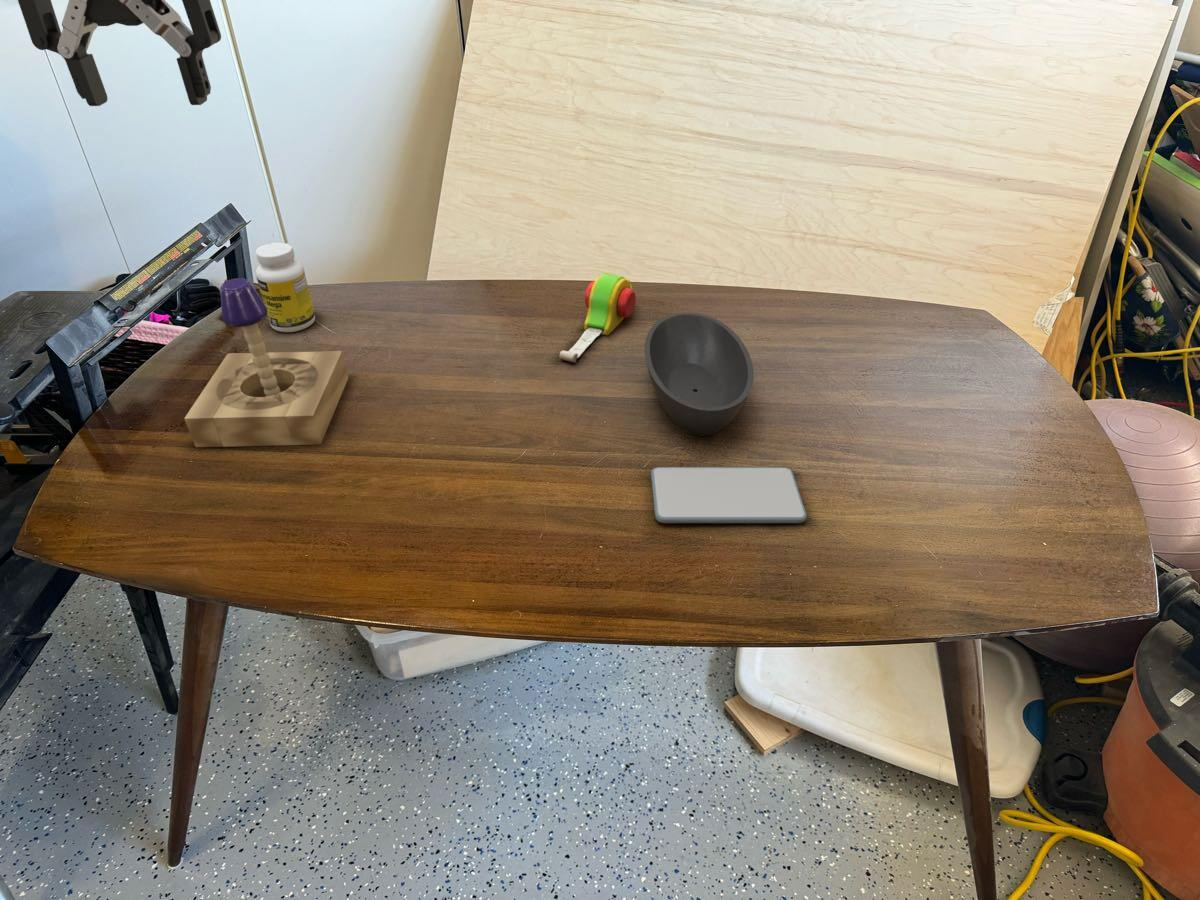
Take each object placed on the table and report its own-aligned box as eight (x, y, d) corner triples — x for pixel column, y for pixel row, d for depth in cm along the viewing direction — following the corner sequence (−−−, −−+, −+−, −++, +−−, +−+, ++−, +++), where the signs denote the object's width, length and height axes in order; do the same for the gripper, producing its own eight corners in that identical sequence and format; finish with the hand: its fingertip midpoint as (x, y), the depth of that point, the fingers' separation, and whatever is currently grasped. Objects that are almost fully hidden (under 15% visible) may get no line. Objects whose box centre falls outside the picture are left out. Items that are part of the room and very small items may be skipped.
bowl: (727, 353, 105) (732, 311, 101) (763, 455, 87) (770, 408, 84) (635, 356, 104) (637, 313, 101) (653, 459, 87) (655, 412, 83)
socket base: (195, 447, 89) (183, 418, 87) (236, 380, 100) (227, 353, 98) (320, 444, 89) (313, 415, 87) (348, 378, 100) (342, 350, 98)
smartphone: (809, 518, 78) (655, 518, 77) (807, 526, 78) (655, 526, 78) (791, 465, 84) (650, 465, 84) (790, 473, 85) (650, 472, 85)
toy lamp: (284, 424, 93) (244, 293, 82) (247, 421, 93) (203, 291, 83) (303, 401, 96) (267, 274, 86) (267, 398, 97) (227, 271, 87)
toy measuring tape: (647, 306, 116) (649, 263, 112) (587, 369, 102) (586, 323, 98) (608, 297, 118) (608, 255, 114) (544, 358, 104) (541, 313, 100)
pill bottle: (261, 330, 111) (238, 255, 104) (287, 310, 115) (267, 237, 109) (300, 336, 109) (279, 261, 102) (325, 316, 114) (307, 242, 107)
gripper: (-59, -129, 55) (42, 116, 65) (149, -130, 55) (218, 114, 65) (3, -131, 61) (86, 94, 71) (189, -133, 61) (247, 91, 71)
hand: (149, 103), depth 68 cm, fingers open, 8 cm apart
